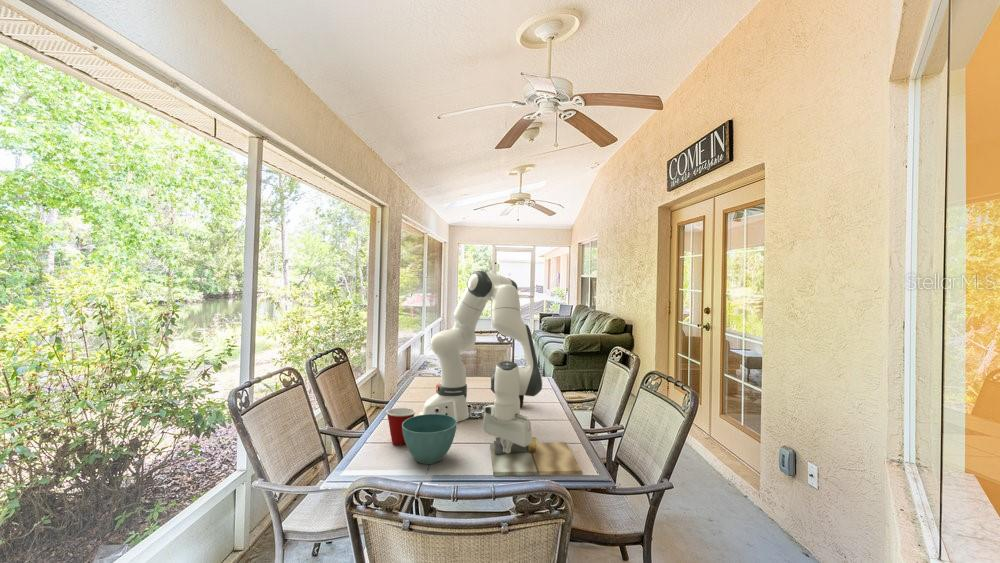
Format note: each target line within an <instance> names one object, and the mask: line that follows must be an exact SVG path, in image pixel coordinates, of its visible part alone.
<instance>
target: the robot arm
mask: <svg viewBox="0 0 1000 563" xmlns="http://www.w3.org/2000/svg"><path fill="white" fill-rule="evenodd" d="M518 290H519V289H518V285H517V282H515V281H514V280H513V279H512V278H509V277H505V276H503V275H501V274H497V273H492V272H486V271H484V270H474V271H473V272H471V274H470V276H469V277H468V279H467V284H466V287H465V290H464V291H463V293H462V295H461V297H460V299H459V301H458V303H457V305H456V308H455V310H454V311H453V317H454V324H453V327H452V328H449V329H445V330H440V331H439V332H437V333H435V334H434V335H433V336H432V337H431V339H430V348H431V350H432V352H433V354H435V355H436V356H437V358H438V361H439V366H440V383H439V382H438V383H436V384H435V387H436V390H435V391H436V392H435V394H433V395H432V396H431V397H429V398H428V399H427V400H426V401H425V402H424V404H423V408H422V410H421V411H420V412H418V414H417V416H418V415H425V414H443V415H448V416H451V417H453V418H455V419H456V421H457V423H458V422H461V421H464V420H467V419H468V418H469V417H470V413H469V409H468V402H467V397H468V384H467V367H466V365H465V364H464V363H463V361H462V358H461V353H463V352H466V351H468V350H470V349H472V347H474V346H475V344H476V341H477V337H476V329H477V328H476V327H477V324H478V322H479V320H480V317H481V315H482V314H483V311H484V309H485V307H486V305H487V302H488V301H491V323H492V326H493V328H494V329H495V331H496V332H498V333H500V334H501V335H502V336H505V337H508V338H510V339H513V340H515V341H517V342H518V343H520V345H521V346H522V349H523V354H524V359H525V363H526V366H525V367H519V365H518V363H516V362H514V361H511V360H510V361H509V360H507V361H506V360H505V361H500V362H498V363H496V365H495V369H494V370H493V371H492V372H491V373H490V391H492V393H493V394H494V400H493V403H492V404H488V405H485V406H484V407H483V412H484V414H483V419H482V420H483V422H482V423H483V424H482V425H483V426H482V427H483V431H484V433H487V434H488V435H491V436H494V437H495V438H496V437H499V438H500V441H501V444H502V446H503V452H505V453H510V452H511V447H512V445H513V443H515V444H517V445H520V446H523V447H526V446H529V445H530V444H531V443H532V437H533V433H532V425H531V421H530V419H529V418H528V416H526V415H522V414H521V408H520V399H519V395H524V397H535V396H537V395H538V394H539V393H540V392H542V390H543V377H542V373H541V371H540V368H539V364H538V360H537V359H538V358H537V354H536V349H535V344H534V339H533V336H532V332H531V329H530V326H529V325H528V324H526V323H525V322H524V321H523V319H522V316H521V302H520V297H519V293H518ZM507 443H508V444H507Z"/></svg>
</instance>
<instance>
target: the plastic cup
mask: <svg viewBox="0 0 1000 563" xmlns="http://www.w3.org/2000/svg"><path fill="white" fill-rule="evenodd" d="M416 412H417V410H416V409H414V408H410V407H393V408H389V409H387V410H386V411H385V414H386V415H387V420H388V427H389V432H390V438H391V443H392V445H394V446H398V447H399V446H406V443H405V440H404V436H403V430H402V423H403V422H404V421H405V420H407V419H409V418H411V417H414V416H415V414H416Z"/></svg>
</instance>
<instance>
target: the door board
mask: <svg viewBox="0 0 1000 563" xmlns="http://www.w3.org/2000/svg"><path fill="white" fill-rule="evenodd" d="M489 447H490V448H489V450H490V458H491V460H490V461H491V469H492V475H493V477H503V476H505V477H507V476H508V477H511V476H514V477H515V476H517V477H518V476H555V475H557V476H559V475H560V476H562V475H563V476H565V475H567V476H568V475H582V474H583V470H582V468H581V466H580V464H579V462H578V460H577V459H576V458H575V456H574V454H573V452H572V451H571V448H570V447H569V444H568V443H567V442H565V441H563V442H562V441H559V442H536V451H535V452H522V453H508V454H495V453H494V442H492V443H491V442H490V443H489Z"/></svg>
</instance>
